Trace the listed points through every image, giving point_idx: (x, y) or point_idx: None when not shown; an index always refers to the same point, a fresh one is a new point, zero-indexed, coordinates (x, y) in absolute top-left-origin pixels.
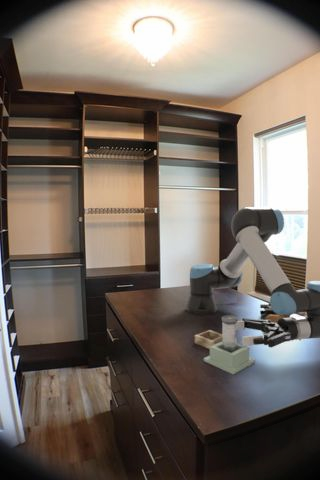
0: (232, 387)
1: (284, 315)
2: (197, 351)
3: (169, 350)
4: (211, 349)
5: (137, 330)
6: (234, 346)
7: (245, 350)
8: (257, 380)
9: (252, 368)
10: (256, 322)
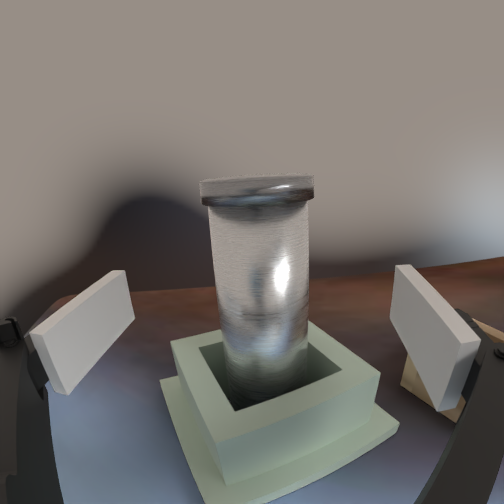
0: (107, 359)
1: None
2: (383, 346)
3: (384, 298)
4: None
5: (486, 264)
6: (224, 353)
7: (201, 416)
8: (79, 427)
9: (160, 472)
10: (470, 470)
